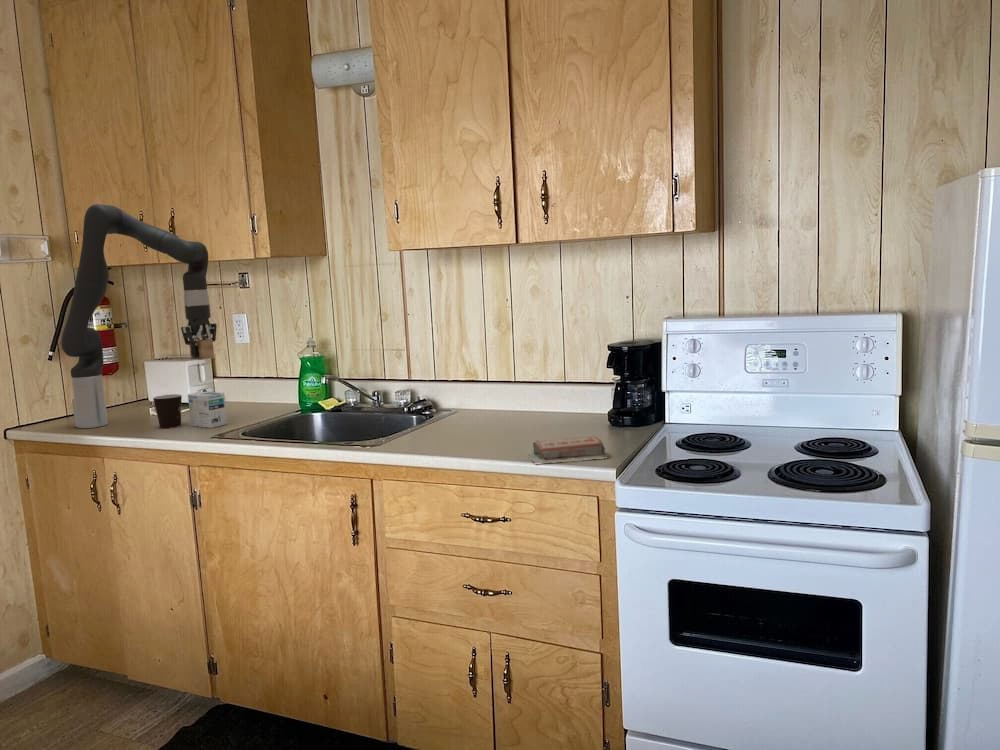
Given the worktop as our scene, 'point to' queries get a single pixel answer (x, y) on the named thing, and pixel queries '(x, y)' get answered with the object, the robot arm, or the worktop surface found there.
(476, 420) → the worktop surface
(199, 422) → the light bulb box
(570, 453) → the packaged product
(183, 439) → the worktop surface
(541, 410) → the worktop surface
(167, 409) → the coffee mug
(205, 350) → the walnut block
